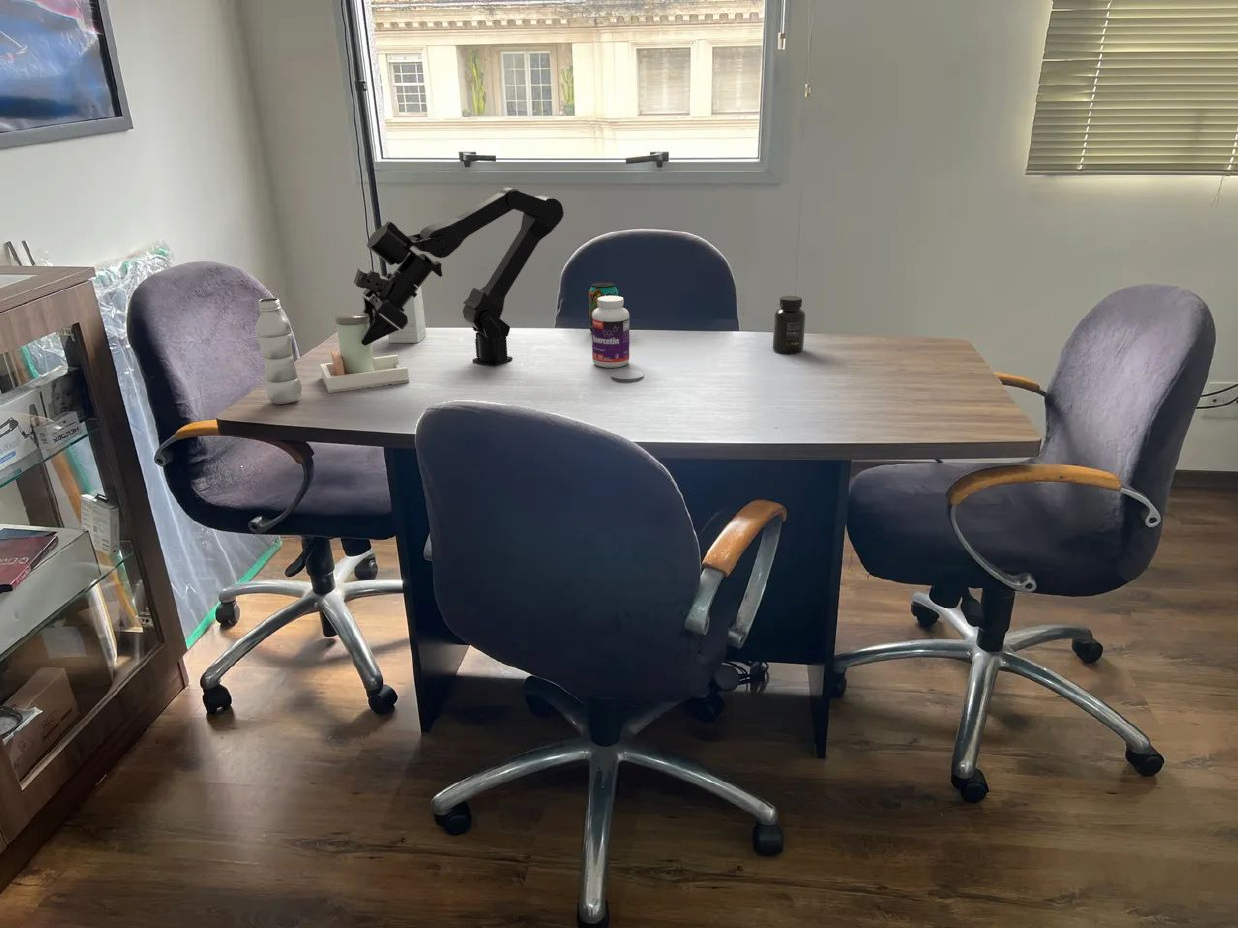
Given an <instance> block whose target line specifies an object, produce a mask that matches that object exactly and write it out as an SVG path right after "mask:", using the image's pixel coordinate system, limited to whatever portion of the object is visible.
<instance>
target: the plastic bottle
mask: <svg viewBox="0 0 1238 928" xmlns="http://www.w3.org/2000/svg"><path fill="white" fill-rule="evenodd" d="M257 302H258V303H257V304H258V307H259V308H258V311H259V312H260V315H259V317H258V319H257V321H256V323H255V326H254V331H255V335H256V338H257V342H258V345H259V348H260V351H261V354H262V357H263V363H264V372H265V393H266V397H267V399H268V400H269V401H270V402H271V403H272V404H277V405H284V404H285V405H286V404H291V403H294V402H297V401H299V400H300V399H301V397H302V391H303V390H302V384H301V381H300V378H299V376H298V372H297V368H296V365H295V360H294V355H293V354H294V353H293V345H292V344H293V343H292V341H293V340H292V338H293V336H292V335H293V334H292V325H291V324H290V321H289V320H288V319H287V317H286V316H285V315H284V314H283V313H282V312H281V310H282V306H281V303H280V298H278V297H266V298H262V299H259V300H258V301H257Z"/></svg>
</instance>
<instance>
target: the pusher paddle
mask: <svg viewBox="0 0 1238 928" xmlns="http://www.w3.org/2000/svg"><path fill="white" fill-rule="evenodd" d="M330 354H331V361H332V362H331V363H333V369H334V374H335V376H340V375H345V374H344V367H343V360H342V358H341V355H340V352H338V349H336V350H331V351H330Z"/></svg>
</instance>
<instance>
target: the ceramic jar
mask: <svg viewBox="0 0 1238 928" xmlns="http://www.w3.org/2000/svg"><path fill="white" fill-rule="evenodd" d="M362 312H363V311H362ZM362 312H361V311H360V312H358V311H356V312H355V311H354V312H344V313H340V314H337V315H336V316H334V319H335V324H336V330H337V331H336V332H337V338H338V339H337V340H338V345H339V346H338V347H339V355H340V357H341V358H342V360H343V367H344V374H345V375H348V374H356V373H363V372H371V371H375V366H374V352H373V342H372V343H370V344H368V345H366V346H364V345H363V344H362V343H361V341H362V339H363V337H364V335H365V334H366V332H367V330H368V329H369V327H370V324H369V314H367V313H362Z"/></svg>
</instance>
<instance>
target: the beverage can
mask: <svg viewBox="0 0 1238 928" xmlns="http://www.w3.org/2000/svg"><path fill="white" fill-rule="evenodd" d="M590 286H591V287H590V289H589V290H588V308H589V331H590V333H592V313H593V311H594V310H595V309H597V308H599V306H598V304H597V303H598V298H599V297H602V296H619V290H618V288H617V287H616V283H615V282H611V281H598V282H597V281H596V282H593V283H591V285H590Z"/></svg>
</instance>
